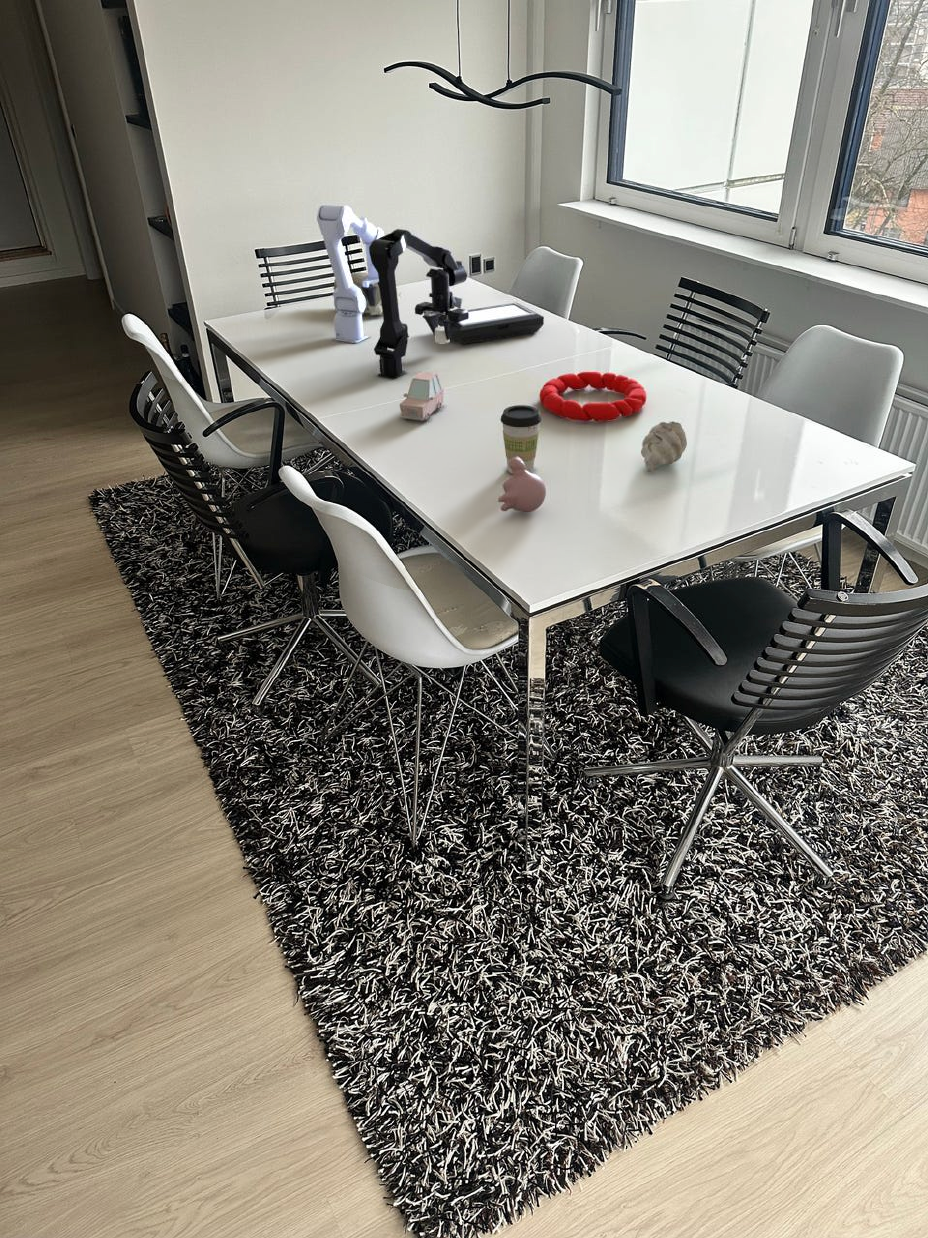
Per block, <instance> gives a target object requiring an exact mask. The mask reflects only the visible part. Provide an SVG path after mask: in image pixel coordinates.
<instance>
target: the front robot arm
mask: <svg viewBox="0 0 928 1238" xmlns="http://www.w3.org/2000/svg"><path fill="white" fill-rule="evenodd" d="M384 235H385V236H382V237H380V238H379V239H375V240H374V241H373V242H372V243H371V245H370V246H369V254H370V258H371V262H372V264H373V266H374V267H375V269H376V271H377V272H378V277H379V286H380V294H381V303H382V311H383V312H382V318H383V320H382V324H381V326H380V327H379V338H378V340H377V342H376V344H375V346H374V348H373V351H374V354H375V355H376V356H379V359H378V365H379V373H377V376H378V377H380V378H386V379H392V380H396V379H398V378H399V377H402V376H403V375H405V374H406V371H405V370H403V359H402V358H403V357H406V353H407V347H408V343H409V342H408V341H409V339H408V338H410V336H409V330H408V329H409V328H408V327H409V326H408V324H407V323H403V322H402V321H401V319H400V318H401V317H400V309H399V305H398V299H397V290H396V288H397V282H396V270H397V267H398V264H399V259H400V258H399V257H400V256H401V255H402V254H404V252H405V250H406V249H408V250H409V251H412V252H413V253H415V254H417V255H418V256H421V258H422V259H423V261H424V262H425V263H426V264H427V265H428V266H430V267H434V268H430V270H429V271H427V273H426V274H425V276H426V277H427V278H430V285H431V286H430V288H431V292H430V293H428V297H429V298H431V302H429V301H423V302H420V303H417V304H415V307H414V314H415V315H420V316H422V319H424V320H425V322H426V324H427V325H428V327H429V328H430V331H431V332H432V334H433V336H434V337H435V328H437V327H439V325H438V319H439V316H440V315H444V316H447V319H446V320H444V321H443V325H444V330H445V335H446V339H447V340H449V339H451V338H452V337H451V334H452V330H453V327H454V325H455V323H457V322H461V321H464V320H466V319H469V313H468V311H467V310H468V309H464V308H462V303H463V298H462V297H457V296H454V293H453V292H452V291H450V287H454V286H457V285H460V284H463V283H465V282H466V281H467V279H468V272H467V270H466V268H465V267H464V266H463V261H462V260H461V261H460V260H455V259H454V258H453V255H452V251H451V250H450V249H449V248H445V247H441V246H438V245H437V246H436V245H433V244H431V243H429V242H427V241H426V240H424V239H422V238H420V237H419V236H417V235H415V234H414V233H412V232H411V231H409V229H408V230H407V229H401V228H397V229H394V230H393V231H391V232H390V233H388V234H384ZM436 268H437V269H436ZM455 308H456V309H455Z"/></svg>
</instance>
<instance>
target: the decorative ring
mask: <svg viewBox="0 0 928 1238" xmlns="http://www.w3.org/2000/svg"><path fill="white" fill-rule="evenodd" d="M588 386H589V387H591V388H592V389H595V390H603V389H607V390H608V391H612V392H615V393H617V394H618V393H619V394H622V395H624V396H625V398H623V399H618V400H615V401H611V402H605V401H604V402H587V403H585V404H583V405H582V406H581V404H580V403H579V402H578V401H576V400H572V399H567V400H564V398H563V397H562V396H560V395H561V394H564V393H565V392H566V391H567V390H568V389H570V390H572V391H573V390H574V391H580V390H581V391H582V390H584V389H586V388H588ZM539 401H540V404H541V405H542V406H543V407H544V408H545V410H547V411H548V412H549V413H552V414H553V415H556V416H558V417H561V418H564V419H569V420H573V421H581V422H590V421H592V420H593V421H594V422H611V421H615V420H617V419H618V418H619V417H620V416H622V417H629V416H631V415H632V414H636V413H638V412H639V411H640V410H642V408H643V406H644V405H645V404H646V401H647V392H646V390H645V388H644V386H643V385H642V384H641V383H639V382H638V381H637V380H635V379H634V378H629V377H628V376H626V375H622V374H618V375H616V374H615V373H614V372H605V373H603V374H602V373H601V372H598V371H580V372H579V373H576V374H575V373H573V372H572V373H566V374H561V375H559V376H557V377H556V378H551V379H550V380H548V381H546V382H545V384H543V386H542V388H541V389H540V391H539Z"/></svg>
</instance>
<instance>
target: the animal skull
mask: <svg viewBox="0 0 928 1238" xmlns="http://www.w3.org/2000/svg"><path fill="white" fill-rule="evenodd" d="M350 274H351V278H352V281H353V284H354V285H356V286H357V287H358V288H360V289H361V292H362V294H363V295H364V297H365V300H366V308H365V309H367V310H368V311H369V314H370V316H374V315H375V316H383V311H382V303H381V296H380V290H379V286H378V284H377V283H375V284H372V285H373V287H377V290H376V304H375V306H370V305H369V302H368V299H367V297H366V294H365V293H364V291H363V290H362V285H363V283H362V281H364V280H365V279H366V278H367V277H368V272H360V271H359V272H352V273H350ZM333 282H334V283H333V292H334V291H335V289H336V288H337V287H338V286H337V283H336V280H335V279H334V281H333ZM396 290H397V299H398V306H399V305H400V299H401V294H402V293H401V290H400V289H398V288H397V287H396ZM363 315H365V311H364V312H363V313H362V316H363Z"/></svg>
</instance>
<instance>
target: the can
mask: <svg viewBox="0 0 928 1238" xmlns="http://www.w3.org/2000/svg"><path fill="white" fill-rule="evenodd" d="M434 338H435V339H434V340H435V343H436V344H438V345H439V344H441V345H442V344H443V345H444V344H445V345H446V344H449V343H450V341H451V340H450V339H451V338H450V339H449V340H447V339H446V335H445V330H444V326H442V327H440V326H438V327H437V328H435V336H434Z"/></svg>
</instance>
